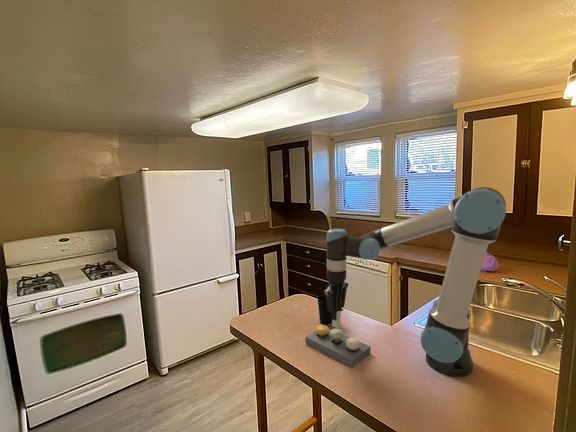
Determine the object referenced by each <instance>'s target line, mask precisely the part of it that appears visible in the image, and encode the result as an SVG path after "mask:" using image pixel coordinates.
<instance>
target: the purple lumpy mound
mask: <svg viewBox="0 0 576 432" xmlns="http://www.w3.org/2000/svg"><path fill="white" fill-rule="evenodd" d="M497 259H498V257H495V256H494V255H493V254H490V252H486V254H485V258H484V261H483V264H482V268H481V272H482V273H485V272H491V273H494V272H495V271H496V270H498V268H499V262H498V261H497Z"/></svg>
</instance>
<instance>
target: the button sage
mask: <svg viewBox="0 0 576 432" xmlns="http://www.w3.org/2000/svg"><path fill="white" fill-rule="evenodd" d="M343 335H344V330H343V329H340V328H331V331H330V337H331V338H333V339H334V343H336V344H338V343H340V339H342V338H343Z"/></svg>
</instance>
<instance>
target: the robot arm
mask: <svg viewBox="0 0 576 432" xmlns="http://www.w3.org/2000/svg"><path fill="white" fill-rule="evenodd" d="M506 212H507V203H506V200H505V197H504V196H503V195H502V193H501V192H500V191H498V190H497V189H495V188H492V187H486V186H483V187H482V186H481V187H480V186H479V187H477V188H474V189H471V190H469V191H467V192H465V193H464V194H462V195H461V196H459V197H456V198H454V199H451V201H450V202H449V204H446V205H443V206H440V207H437V208H435V209H432V210H429V211H426V212H423V213H420V214H418V215H415V216H413V217H410V218H406V219H403V220H401V221H398V222H395V223H392V224H390V225H387V226H384V227H381V228H379V229H375V230H371V231H370V232H368V233H366V234H363V235H361V236H352V235H348V233H347V232H348V231H347V230H346V229H345V228H344V229H343V228H331V229H328V230H327V232H326V240H325V242H326V280H327V281H328V284H327V288H326V289H324V290H323V295H325V297H326V302H327V308H328V311H330V312H332V324H331V326H332V327H333V328H335V329H340V327H341V312H343V311H344V307H345V304H346V297H347V289H348V287H349V283H348V282H346V281H345V280H346V279H347V270H346V269H347V257H350V258H357V259H360V260H361V259H363V260H365V261H368V260H370V261H371V260H372V261H374V260H376V259H377V258H378V256H379V254H380V250H383V249H386V248H389V247H391V246H395V245H398V244H401V243H405V242H408V241H412V240H415V239H418V238H421V237H424V236H428V235H430V234H435V233H438V232H440V231H444V230H448V229H450V228H451V232H452V233H453V235H454V236H455V237H454V241H453V244H452V247H451V251H450V255H449V260H448V262H447V266H446V269H445V273H444V277H443V279H442V280H443V281H442V285H441V287H440V292H439V295H438V299H435V300H434V301H433V303H432V306H431V308H430V309H429V313H428V315H427V319H426V324H425V327H424V329H423V331H422V332H421V334H420V344H421V347H422V349H423V350H424V352H425V361H426V363H427V365H428V366H429V367H431V368H432V369H433V370H434V371H436V372H438V373H441V374H443V375H447V376H452V377H456V378H457V377H467V376H469V375H471V374H472V373H473V371H474V361H473V358H472V355H471V351H470V348H469V341H470V340H469V336H470V328H471V315H472V314H471V308H470V307H471V303H472V301H473V298H474V297H473V296H474V294H475V291H476V287H477V283H478V281H479V277H480V275H481V274H480V273H481V272H482V270H481V268H482V264H483V261H484V258H485V254H486V253H487V251H488V247H489V245H491V244H493V243H495V242H497V239H498V236H499V234H500V230H501V227H502V223H503V221H504V219H505V217H506V214H507V213H506Z"/></svg>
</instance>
